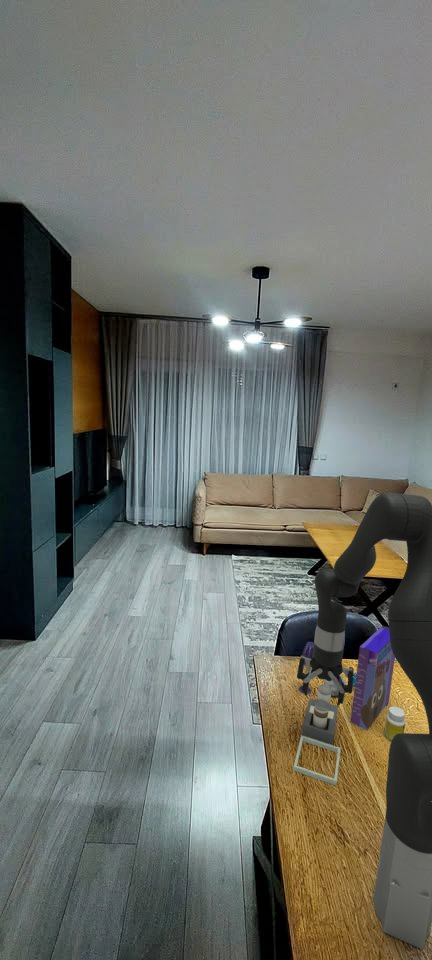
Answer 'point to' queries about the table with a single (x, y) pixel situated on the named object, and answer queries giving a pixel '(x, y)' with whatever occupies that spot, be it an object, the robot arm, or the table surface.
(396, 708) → the supplement bottle
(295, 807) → the table surface
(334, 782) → the pale green flat frame
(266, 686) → the table surface
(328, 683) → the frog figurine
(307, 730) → the fuse block
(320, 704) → the cylinder
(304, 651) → the toy lamp
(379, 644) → the cereal box
